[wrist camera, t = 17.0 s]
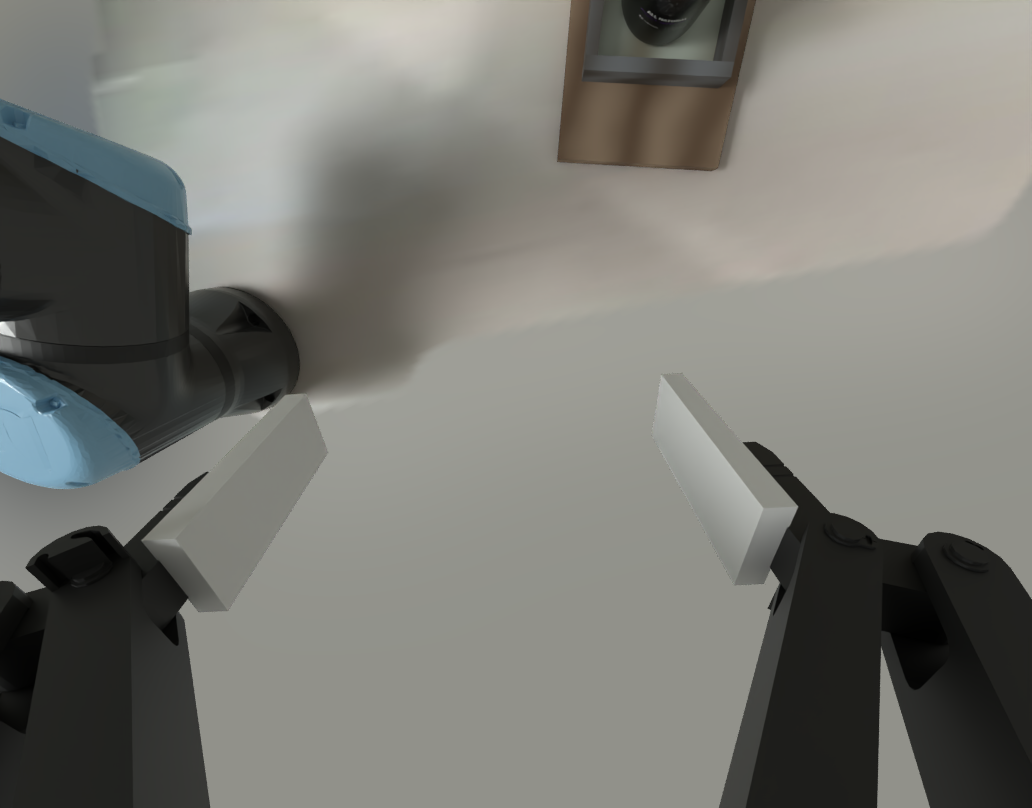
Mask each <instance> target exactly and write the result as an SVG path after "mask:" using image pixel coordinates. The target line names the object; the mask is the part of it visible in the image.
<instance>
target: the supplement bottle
mask: <svg viewBox="0 0 1032 808" xmlns="http://www.w3.org/2000/svg"><path fill="white" fill-rule="evenodd" d="M709 2H710V0H621V4H622V12H623V16H624V19H625V22H626V24H627V26H628V28H629V30H630V31H631V33H632V34H633V35H634V36H635V37H636V38H637V39H638V40H640V41H642V42H643V43H646V44H649V45H664V44H668V43H671V42H673V41H675V40H676V39H678V38H679V37H681V36H682V35H683V34H684V33H685V32H686V31H687V30H688V29H689V28H690V27H691V26H692V25H693V23H694V22H695V21H696V19H697V18H698V17H699V15H700V14H701V13H702V11H703V10H704V9H705V7H706V6H707V4H708V3H709Z"/></svg>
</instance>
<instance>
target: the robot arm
mask: <svg viewBox="0 0 1032 808" xmlns="http://www.w3.org/2000/svg"><path fill="white" fill-rule="evenodd" d="M188 235H192V229H191V228H190V227H189V225H188V214H187V198H186V190H185V186H184V184H183V182H182V180H181V178H180V177H179V176H178V174H177V173H176V172H175V171H174V170H173V169H172V168H171V167H169V166H168V165H167V164H165V163H163V162H162V161H160V160H157V159H155V158H153V157H151V156H148V155H146V154H143V153H141V152H138V151H136V150H133V149H130V148H128V147H125V146H123V145H120V144H118V143H115V142H112V141H110V140H107V139H105V138H102V137H100V136H97V135H94V134H92V133H89V132H86V131H84V130H81V129H78V128H76V127H73V126H70V125H68V124H65V123H63V122H60V121H57V120H55V119H52V118H49V117H47V116H44V115H42V114H39V113H37V112H34V111H31V110H29V109H26V108H23V107H21V106H18V105H15V104H13V103H10V102H7V101H5V100H2V99H0V472H3V473H4V474H6V475H9V476H11V477H13V478H16V479H18V480H21V481H24V482H27V483H30V484H34V485H38V486H43V487H48V488H57V489H73V488H81V487H85V486H89V485H92V484H95V483H97V482H99V481H102V480H104V479H106V478H108V477H110V476H112V475H114V474H116V473H119V472H120V471H125V470H128V469H131V468H133V467H135V466H136V465H137V464H139V463H140V462H142V461H144V460H146V459H148V458H149V457H151V456H153V455H155V454H156V453H158V452H160V451H162V450H163V449H165V448H167V447H169V446H170V445H172V444H174V443H176V442H178V441H179V440H181V439H183V438H185V437H186V436H188V435H190V434H192V433H193V432H195V431H197V430H199V429H200V428H202V427H204V426H206V425H207V424H209V423H211V422H213V421H214V420H216V419H218V418H223V417H230V416H237V415H244V414H251V413H256V412H260V411H263V410H265V409H268V408H270V407H271V406H273V405H275V404H276V403H277V404H276V405H275V406H274V407H273V408H272V409H271V410H270V411H269V412H268V413H267V414H266V415H265V416H264V417H263V418H262V419H261V420H260V421H259V422H258V423H257V424H256V425H255V426H254V427H253V428H252V429H251V430H250V431H249V432H248V433H247V434H246V435H245V436H244V437H243V438H242V439H241V440H240V441H239V442H238V443H237V444H236V445H235V446H234V447H233V448H232V449H231V450H230V451H229V452H228V453H227V454H226V455H225V457H224V458H222V459H221V461H220V462H219V463H218V464H217V465H216V466H215V467H214V468H213V469H212V470H211V471H210V472H206V473H204V474H202V475H201V476H199V477H198V478H196V479H195V480H193V481H191V482H190V483H188V484H187V485H186V486H185V487H184V488H183V489H182V490H181V491H180V492H179V493H178V494H177V495H176V496H175V497H174V500H171V501H170V502H169V503H168V504H167V505H166V506H165V507H164V508H163V511H160V512H159V513H158V514H157V515H156V516H155V517H154V518H152V519H151V520H150V521H149V522H148V523H147V524H146V525H145V526H144V527H143V528H142V529H141V530H140V531H139V532H138V533H137V534H136V535H135V536H134V537H133V538H132V539H131V540H130V541H129V542H128V543H127V544H126V545H125V546H124V547H123V546H122V545H121V544H120V542H119V541H118V540H117V539H116V538H115V536H114V535H113V534H112V533H111V532H110V531H109V529H108V528H107V527H103V526H92V527H86V528H83V529H80V530H77V531H74V532H71V533H69V534H67V535H65V536H63V537H61V538H58V539H56V540H55V541H53V542H52V543H50V544H49V545H47V546H46V547H44V548H43V549H41V550H40V551H39V552H38V553H37V554H36V555H35V556H33V557H32V558H31V559H30V561H29V563H28V564H27V566H26V569H27V570H28V571H29V572H30V573H31V574H32V575H34V576H35V577H36V578H37V579H38V580H39V581H40V582H41V583H42V584H43V585H44V586H46V587H45V588H42V589H38V590H35V591H31V592H28V593H24V592H23V591H22V590H21V589H20V588H19V587H18V586H16V585H15V584H14V583H13V582H9V581H0V808H210V802H209V796H208V789H207V781H206V773H205V766H204V759H203V753H202V745H201V737H200V730H199V723H198V716H197V709H196V701H195V694H194V687H193V679H192V673H191V665H190V658H189V651H188V643H187V636H186V629H185V622H184V619H183V617H182V616H181V614H180V613H179V612H178V611H179V610H180V608H181V607H182V606H183V604H184V603H185V602H186V600H187V599H189V601H190V602H191V603H192V604H193V605H194V607H195V608H196V609H197V611H198V612H214V611H228V610H229V609H230V607H231V606H232V604H233V602H234V601H235V599H236V597H237V596H238V594H239V593H240V591H241V590H242V588H243V587H244V585H245V583H246V582H247V580H248V578H249V577H250V576H251V574H252V572H253V571H254V569H255V567H256V566H257V564H258V563H259V561H260V560H261V558H262V557H263V555H264V553H265V552H266V550H267V549H268V547H269V545H270V544H271V542H272V541H273V539H274V538H275V536H276V534H277V533H278V531H279V530H280V528H281V527H282V525H283V523H284V522H285V520H286V519H287V517H288V515H289V514H290V512H291V511H292V509H293V508H294V506H295V504H296V503H297V501H298V500H299V498H300V496H301V495H302V493H303V492H304V490H305V489H306V487H307V485H308V484H309V482H310V481H311V479H312V477H313V476H314V474H315V473H316V471H317V470H318V468H319V466H320V465H321V463H322V462H323V460H324V459H325V457H326V455H327V453H328V451H327V448H326V445H325V443H324V440H323V437H322V435H321V432H320V430H319V427H318V424H317V421H316V419H315V416H314V413H313V411H312V408H311V405H310V403H309V400H308V397H307V395H306V394H289V393H290V392H291V391H292V389H293V388H294V386H295V384H296V381H297V378H298V374H299V356H298V351H297V347H296V344H295V341H294V339H293V337H292V335H291V333H290V331H289V329H288V328H287V326H286V325H285V323H284V322H283V321H282V319H281V318H280V317H279V316H278V315H277V314H276V313H275V312H274V311H273V310H272V309H271V308H270V307H269V306H268V305H266V304H265V303H264V302H262V301H261V300H259V299H257V298H256V297H254V296H252V295H250V294H248V293H245V292H243V291H240V290H236V289H231V288H222V287H219V288H209V289H202V290H196V291H193V292H190V293H189V239H188ZM288 394H289V395H288ZM652 437H653V439H654V441H655V442H656V444H657V446H658V448H659V450H660V452H661V454H662V455H663V457H664V459H665V461H666V463H667V464H668V466H669V468H670V470H671V472H672V474H673V475H674V477H675V479H676V481H677V483H678V484H679V486H680V488H681V490H682V492H683V494H684V495H685V497H686V499H687V501H688V503H689V504H690V506H691V508H692V510H693V512H694V513H695V515H696V517H697V519H698V521H699V523H700V524H701V526H702V528H703V530H704V532H705V533H706V535H707V537H708V539H709V541H710V543H711V544H712V546H713V548H714V550H715V552H716V553H717V555H718V557H719V559H720V561H721V563H722V564H723V566H724V568H725V570H726V572H727V573H728V575H729V577H730V579H731V581H732V583H733V584H734V585H751V584H764V582H765V580H766V578H767V575H768V573H769V571H770V569H771V570H772V571H773V573H774V574H775V576H776V577H777V579H778V580H779V582H780V584H779V586H778V588H777V590H776V592H775V594H774V596H773V598H772V600H771V603H770V605H769V607H768V609H770V610H771V612H770V616H769V620H768V624H767V628H766V632H765V635H764V639H763V643H762V646H761V650H760V654H759V658H758V662H757V665H756V669H755V673H754V677H753V681H752V684H751V688H750V692H749V696H748V700H747V703H746V708H745V711H744V715H743V719H742V723H741V726H740V730H739V734H738V738H737V742H736V745H735V749H734V753H733V757H732V761H731V764H730V768H729V772H728V776H727V780H726V783H725V787H724V791H723V795H722V799H721V802H720V806H719V808H877V790H878V747H879V706H880V705H879V703H880V662H881V647H882V650H883V654H884V657H885V660H886V663H887V667H888V670H889V673H890V676H891V680H892V683H893V686H894V690H895V693H896V696H897V699H898V703H899V706H900V710H901V713H902V716H903V719H904V723H905V726H906V729H907V732H908V736H909V739H910V743H911V746H912V749H913V753H914V756H915V759H916V762H917V766H918V769H919V772H920V775H921V778H922V782H923V785H924V789H925V792H926V795H927V799H928V802H929V805H930V808H1032V599H1031V598H1030V596H1029V595H1028V593H1027V592H1026V590H1025V589H1024V587H1023V586H1022V584H1021V583H1020V581H1019V580H1018V578H1017V577H1016V575H1015V574H1014V572H1013V571H1012V569H1011V568H1010V567H1009V566H1008V565H1007V564H1006V563H1005V562H1004V561H1003V559H1002V558H1000V557H999V556H998V555H996V554H995V553H993V552H992V551H991V550H989V549H988V548H986V547H984V546H982V545H981V544H979V543H976V542H975V541H972V540H970V539H968V538H964V537H961V536H958V535H955V534H951V533H944V532H934V533H928V534H927V535H926V536H925V537H924V538H923V540H922V541H921V542H920V544H919V545H918V546H915V545H909V544H905V543H899V542H893V541H889V540H883V539H879V538H878V537H877V536H876V535H875V534H874V533H873V532H872V531H871V530H870V529H868V528H867V527H865V526H864V525H863V524H861V523H859V522H857V521H855V520H853V519H851V518H848V517H846V516H842V515H838V514H835V513H830V512H829V511H828V510H827V509H826V508H825V507H824V506H823V505H822V504H821V503H820V502H819V501H818V499H817V498H816V497H815V496H814V495H813V494H812V493H811V492H810V491H809V490H808V489H807V488H806V487H805V486H804V485H803V484H802V483H801V482H800V481H799V479H797V477H794V476H793V473H792V472H791V471H790V470H789V469H788V468H787V467H784V464H783V463H782V462H781V460H780V459H779V458H778V457H777V456H776V455H775V454H774V453H773V452H772V451H770V450H768V449H767V448H765V447H763V446H762V445H760V444H758V443H757V442H742V441H741V440H740V439H739V438H738V437H737V436H736V435H735V434H734V432H733V431H732V430H731V429H730V428H729V427H728V425H727V424H726V423H725V422H724V421H723V420H722V418H721V417H720V416H719V415H718V414H717V413H716V412H715V411H714V409H713V408H712V407H711V406H710V405H709V404H708V402H707V401H706V400H705V399H704V398H703V397H702V396H701V394H700V393H699V392H698V391H697V390H696V389H695V387H694V386H693V385H692V384H691V383H690V382H689V381H688V379H687V378H686V377H685V376H684V375H683V374H682V373H677V374H661V379H660V385H659V392H658V398H657V404H656V411H655V417H654V423H653V429H652Z"/></svg>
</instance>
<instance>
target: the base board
mask: <svg viewBox="0 0 1032 808" xmlns="http://www.w3.org/2000/svg"><path fill="white" fill-rule="evenodd" d="M755 1H756V0H710V2H709V3H708V4H707V6H706V7H705V9H704V10H703V11H702V13H701V14H700V15H699V17H698V18H697V19H696V21H695V22H694V23H693V25H692V26H691V27H690V28H689V29H688V30H687V31H686V32H685V33H684V34H683V35H682V36H681V37H679V38H678V39H676V40H675V41H673V42H671V43H668V44H664V45H649V44H646V43H643V42H642V41H640V40H638V39H637V38H636V37H635V36H634V35H633V34H632V33H631V31H630V30H629V28H628V26H627V24H626V22H625V19H624V16H623V12H622V4H621V0H571V11H570V22H569V33H568V45H567V56H566V68H565V79H564V90H563V102H562V113H561V125H560V136H559V147H558V159H557V162H569V163H586V164H603V165H619V166H636V167H653V168H670V169H687V170H704V171H712V170H715V169H717V168H718V165H719V161H720V156H721V152H722V147H723V143H724V139H725V134H726V130H727V125H728V121H729V116H730V112H731V108H732V103H733V99H734V94H735V90H736V86H737V81H738V77H739V72H740V68H741V63H742V59H743V55H744V50H745V46H746V41H747V37H748V32H749V28H750V24H751V19H752V15H753V10H754V6H755Z"/></svg>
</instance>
